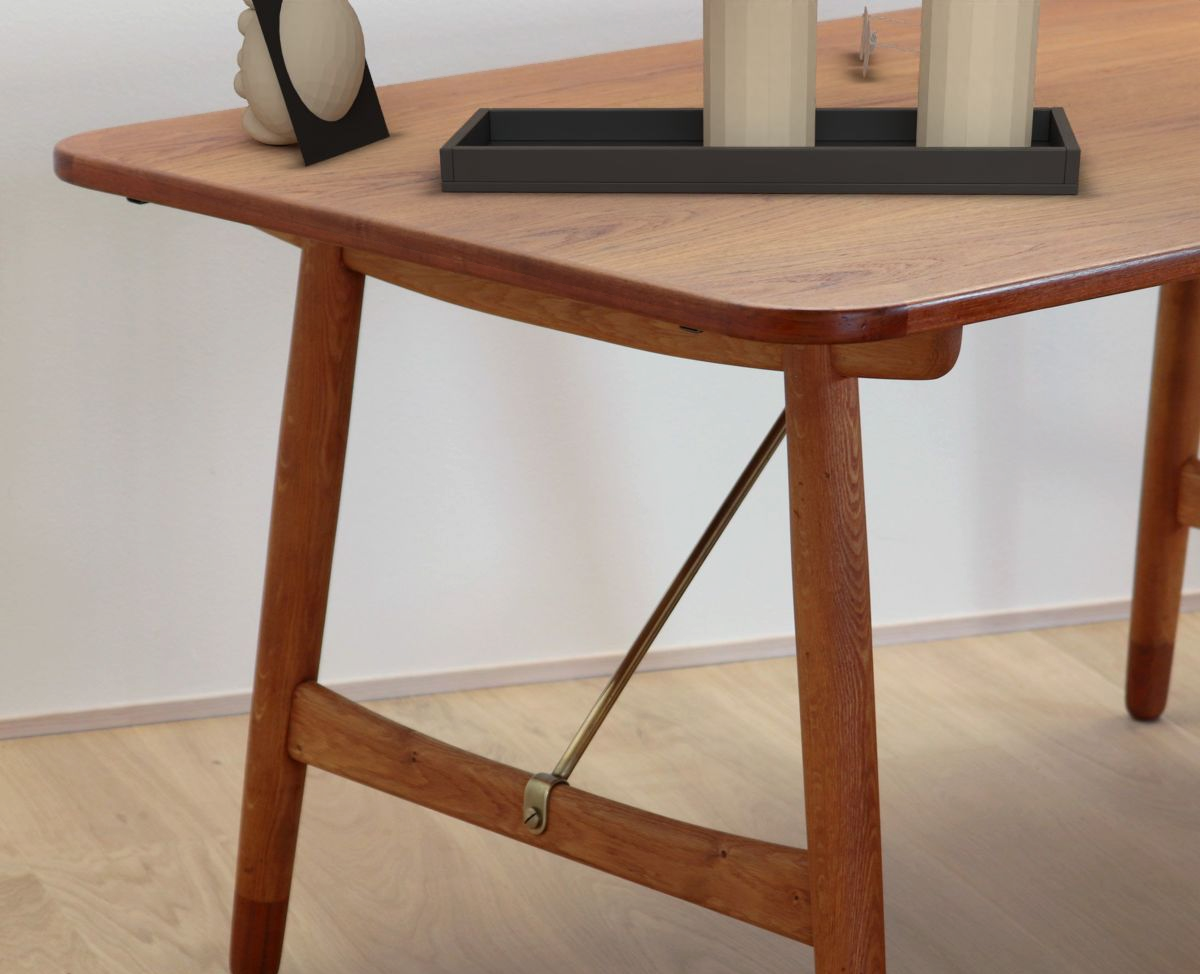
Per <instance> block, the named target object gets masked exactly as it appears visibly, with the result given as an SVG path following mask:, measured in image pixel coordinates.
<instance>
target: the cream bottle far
mask: <svg viewBox="0 0 1200 974" xmlns="http://www.w3.org/2000/svg"><path fill="white" fill-rule="evenodd" d="M1041 1H1042V0H921V15H920V16H921V17H920V25H921V26H920V39H919V41H920V43H919V51H920V53H919V66H918V89H917V107H918V110H917V134H916V147H1031V135H1032V120H1033V107H1034V104H1035V88H1036V75H1037V73H1036V72H1037V57H1038V46H1039V44H1038V43H1039V31H1040V30H1039V27H1040V15H1041V14H1040V12H1041Z"/></svg>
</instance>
